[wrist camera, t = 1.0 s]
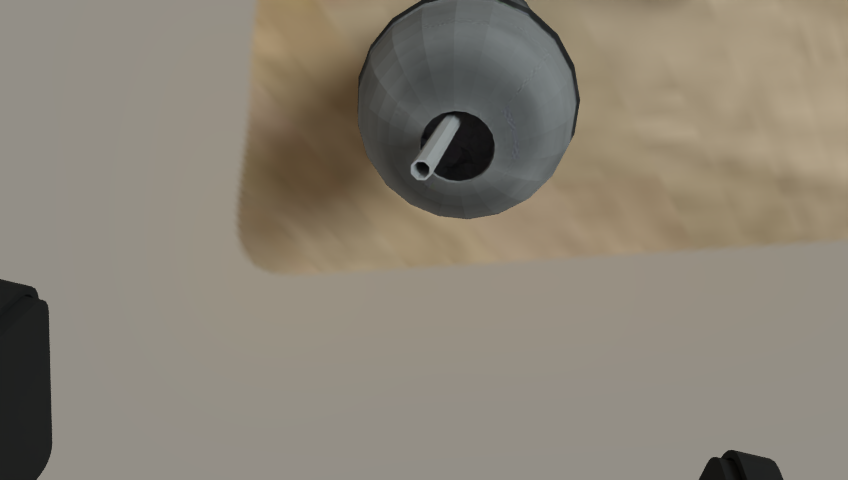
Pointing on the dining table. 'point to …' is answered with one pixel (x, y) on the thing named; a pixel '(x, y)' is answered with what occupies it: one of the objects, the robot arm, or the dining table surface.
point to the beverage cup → (467, 105)
